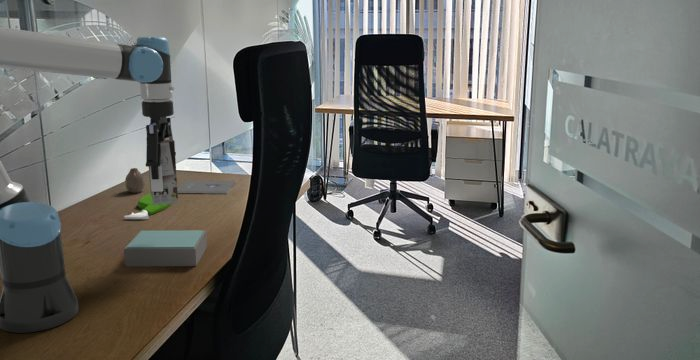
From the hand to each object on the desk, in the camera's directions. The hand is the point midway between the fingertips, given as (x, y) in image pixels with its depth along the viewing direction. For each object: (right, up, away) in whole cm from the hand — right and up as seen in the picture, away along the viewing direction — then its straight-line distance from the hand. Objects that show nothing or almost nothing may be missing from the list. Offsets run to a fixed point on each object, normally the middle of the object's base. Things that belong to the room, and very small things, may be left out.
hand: (163, 185), depth 154 cm
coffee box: (0, -4, +1) cm, 4 cm away
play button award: (-7, -2, +74) cm, 74 cm away
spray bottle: (-19, -9, +46) cm, 51 cm away
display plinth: (0, -19, +5) cm, 20 cm away
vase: (-32, -3, +68) cm, 75 cm away
